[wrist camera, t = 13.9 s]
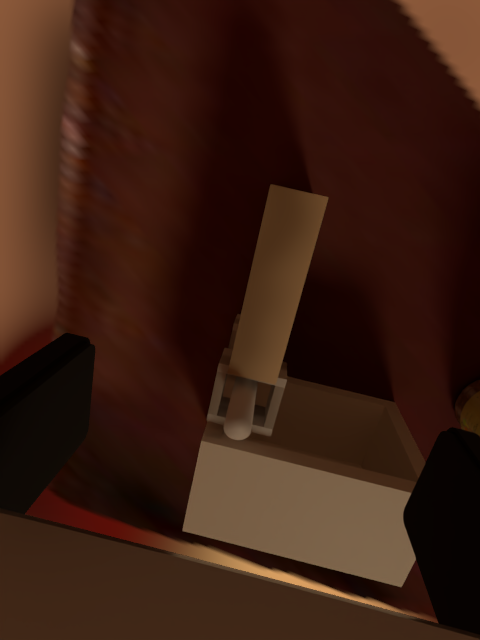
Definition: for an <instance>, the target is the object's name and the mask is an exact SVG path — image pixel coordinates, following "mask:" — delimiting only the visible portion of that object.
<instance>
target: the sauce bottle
mask: <svg viewBox="0 0 480 640" xmlns="http://www.w3.org/2000/svg"><path fill="white" fill-rule="evenodd" d="M455 416H456V418H457V420H458V422H459V423H460V425H461V427H462V429H463V430H465V431H469V432H473V433H476V434H477V435H479V437H480V380H476V381H475V382H473V383H470V384H469V385H468V386H467V387H466V388H464V389H463V390H462V392H461V393H460V395H459V396H458V398H457V400H456V403H455Z"/></svg>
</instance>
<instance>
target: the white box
mask: <svg viewBox="0 0 480 640" xmlns="http://www.w3.org/2000/svg"><path fill="white" fill-rule="evenodd" d="M271 386H272V385H270V384H266V383H262V382H258V381H254V380H250V379H246V378H242V377H238V376H234V375H230V374H227V379H226V383H225V388H224V392H223V397H227V398H231V399H230V403H229V406H228V410H227V414H226V418H225V422H224V425H221V424H217V423H213V422H209V421H208V422H207V426H206V429H205V432H204V435H203V438H202V441H201V446H200V450H199V455H198V460H197V464H196V469H195V474H194V478H193V483H192V488H191V493H190V497H189V502H188V507H187V511H186V516H185V521H184V525H183V530H182V531H186V532H189V533H193V534H197V535H201V536H205V537H209V538H213V539H217V540H221V541H224V542H228V543H232V544H236V545H240V546H244V547H248V548H252V549H255V550H259V551H263V552H267V553H271V554H275V555H279V556H283V557H287V558H290V559H294V560H298V561H302V562H306V563H310V564H314V565H318V566H322V567H325V568H329V569H333V570H337V571H341V572H345V573H349V574H353V575H357V576H360V577H364V578H368V579H372V580H376V581H380V582H384V583H388V584H391V585H395V586H399V587H402V585H403V583H404V581H405V579H406V577H407V575H408V573H409V571H410V569H411V568H412V566H413V564H414V562H415V560H416V557H415V554H414V551H413V548H412V546H411V543H410V540H409V537H408V534H407V531H406V528H405V526H404V522H403V512H404V508H405V506H406V504H407V502H408V500H409V497H410V495H411V493H412V491H413V489H414V487H415V485H416V482H417V480H418V478H419V476H420V474H421V472H422V470H423V468H424V465H425V463H426V462H425V460H424V459H423V457H422V455H421V453H420V451H419V449H418V447H417V445H416V443H415V441H414V439H413V437H412V435H411V433H410V431H409V429H408V427H407V425H406V423H405V421H404V419H403V418H402V416H401V414H400V412H399V410H398V408H397V406H396V404H395V402H392V401H388V400H384V399H379V398H375V397H371V396H367V395H363V394H359V393H355V392H350V391H346V390H342V389H338V388H334V387H330V386H326V385H321V384H317V383H313V382H309V381H305V380H301V379H297V378H292V377H288V376H287V382H286V385H285V389H284V392H283V396H282V399H281V403H280V406H279V410H278V413H277V416H276V420H275V423H274V427H273V430H272V434H271V437H269V436H265V435H261V434H257V433H253V432H251V428H252V421H253V414H254V406H255V404H256V405H260V406H264V407H266V404H267V400H268V396H269V393H270V389H271Z"/></svg>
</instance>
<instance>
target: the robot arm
mask: <svg viewBox="0 0 480 640" xmlns="http://www.w3.org/2000/svg"><path fill="white" fill-rule="evenodd" d="M94 359H95V346H94V345H92V344H90V340H89V339H88V338H86V337H82V336H78V335H74V334H70V333H65V334H63V335H62V336H60V337H59V338H57V339H56V340H54V341H53V342H51V343H49V344H48V345H46V346H45V347H43V348H42V349H41V350H39V351H37V352H36V353H34V354H33V355H31V356H30V357H28V358H27V359H25V360H24V361H22V362H21V363H19V364H18V365H16V366H14V367H13V368H12V369H10V370H8V371H7V372H5V373H4V374H2V375H1V376H0V640H480V437H479V435H477V434H476V433H473V432H469V431H465V430H461V429H457V428H453V427H452V428H449V429H448V430H447V431H442V432H441V433H440V434H439V436H438V438H437V440H436V442H435V444H434V446H433V448H432V450H431V453H430V455H429V457H428V459H427V461H426V463H425V465H424V468H423V470H422V472H421V474H420V476H419V478H418V480H417V482H416V485H415V487H414V489H413V491H412V493H411V495H410V497H409V500H408V502H407V504H406V506H405V508H404V512H403V522H404V526H405V528H406V531H407V534H408V537H409V540H410V543H411V546H412V548H413V551H414V554H415V557H416V560H417V563H418V566H419V569H420V571H421V574H422V577H423V580H424V583H425V586H426V589H427V591H428V594H429V597H430V600H431V603H432V606H433V609H434V611H435V614H436V617H437V620H438V623H439V624H438V623H434V622H431V621H427V620H423V619H420V618H416V617H413V616H409V615H405V614H401V613H398V612H394V611H390V610H387V609H383V608H379V607H375V606H372V605H368V604H365V603H361V602H357V601H353V600H350V599H346V598H342V597H339V596H335V595H331V594H328V593H324V592H320V591H316V590H313V589H309V588H305V587H301V586H297V585H294V584H290V583H286V582H283V581H279V580H275V579H271V578H268V577H264V576H260V575H256V574H253V573H249V572H245V571H241V570H237V569H234V568H230V567H225V566H222V565H218V564H215V563H211V562H207V561H203V560H199V559H195V558H192V557H188V556H184V555H180V554H176V553H173V552H169V551H165V550H161V549H157V548H154V547H150V546H146V545H142V544H138V543H134V542H130V541H127V540H122V539H119V538H115V537H111V536H107V535H103V534H100V533H95V532H91V531H88V530H84V529H80V528H76V527H72V526H68V525H65V524H61V523H57V522H53V521H49V520H45V519H41V518H37V517H33V516H29V515H25V513H26V512H27V510H28V509H29V508H30V507H31V505H32V504H33V503H34V502H35V500H36V499H37V498H38V497H39V495H40V494H41V493H42V492H43V490H44V489H45V488H46V487H47V486H48V484H49V483H50V482H51V481H52V479H53V478H54V477H55V476H56V474H57V473H58V472H59V471H60V469H61V468H62V467H63V466H64V464H65V463H66V462H67V461H68V459H69V458H70V457H71V456H72V454H73V453H74V452H75V451H76V449H77V448H78V447H79V446H80V444H81V443H82V442H83V441H84V439H85V437H86V435H87V432H88V427H89V416H90V404H91V393H92V382H93V370H94Z"/></svg>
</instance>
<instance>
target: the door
mask: <svg viewBox="0 0 480 640" xmlns="http://www.w3.org/2000/svg"><path fill="white" fill-rule="evenodd" d="M327 201H328V197H325V196H321V195H317V194H312V193H308V192H304V191H299V190H295V189H290V188H286V187H282V186H277V185H272V184H270V189H269V193H268V197H267V202H266V206H265V210H264V215H263V219H262V224H261V228H260V232H259V237H258V241H257V246H256V250H255V254H254V259H253V263H252V268H251V272H250V276H249V281H248V285H247V289H246V294H245V298H244V303H243V307H242V311H241V315H240V314H237V316H236V319H235V321H234V325H233V329H232V334H231V338H230V343H229V347H228V348H224V351H223V353H222V356H221V359H220V361H219V365H218V370H217V374H216V379H215V383H214V388H213V393H212V397H211V402H210V406H209V411H208V416H207V420H206V421H209V422H213V423H217V424H221V425H224V422H225V418H226V414H227V410H228V406H229V403H230V399H231V398H227V397H223V392H224V388H225V383H226V379H227V374H230V375H234V376H238V377H242V378H246V379H250V380H254V381H258V382H262V383H266V384H270V385H272V386H271V389H270V393H269V396H268V400H267V404H266V407H264V406H260V405H256V404H255V406H254V414H253V421H252V428H251V432H253V433H257V434H261V435H265V436H269V437H271V434H272V430H273V427H274V423H275V420H276V416H277V413H278V410H279V406H280V403H281V399H282V396H283V392H284V389H285V385H286V382H287V363H286V362H282V361H283V358H284V354H285V351H286V347H287V343H288V340H289V336H290V333H291V329H292V326H293V322H294V319H295V315H296V311H297V308H298V304H299V301H300V297H301V294H302V290H303V287H304V283H305V279H306V276H307V272H308V269H309V265H310V262H311V258H312V254H313V251H314V247H315V244H316V240H317V237H318V233H319V230H320V226H321V222H322V219H323V215H324V212H325V208H326V205H327Z"/></svg>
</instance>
